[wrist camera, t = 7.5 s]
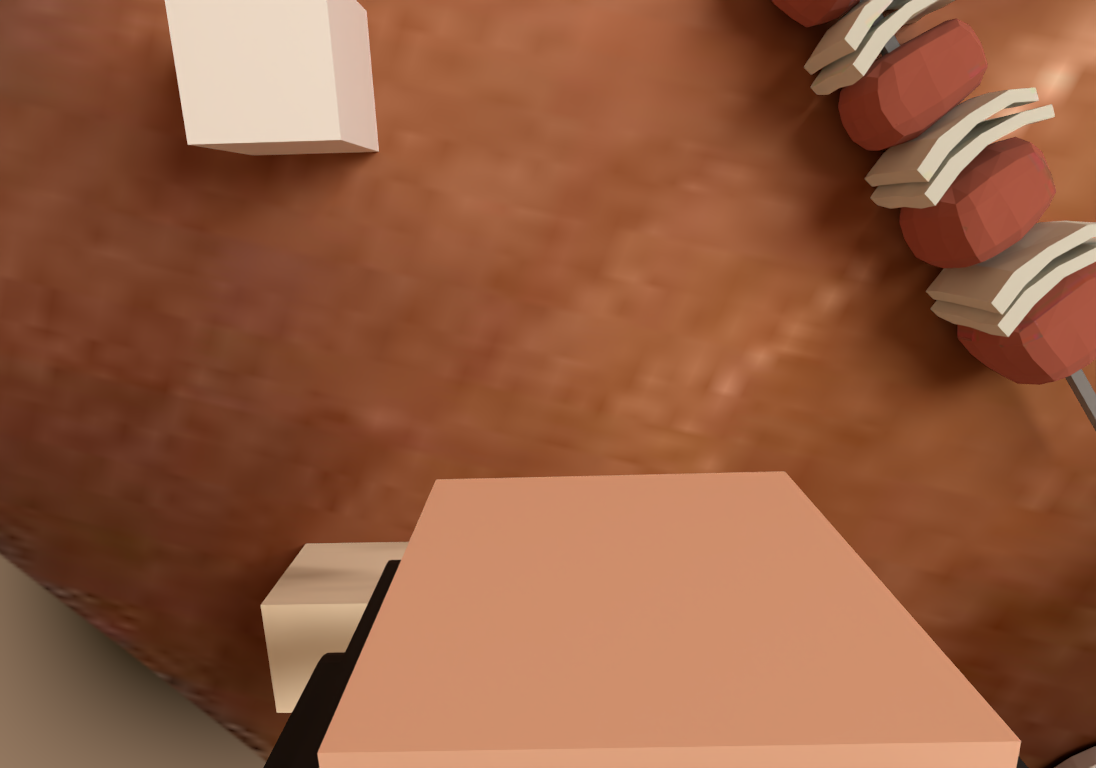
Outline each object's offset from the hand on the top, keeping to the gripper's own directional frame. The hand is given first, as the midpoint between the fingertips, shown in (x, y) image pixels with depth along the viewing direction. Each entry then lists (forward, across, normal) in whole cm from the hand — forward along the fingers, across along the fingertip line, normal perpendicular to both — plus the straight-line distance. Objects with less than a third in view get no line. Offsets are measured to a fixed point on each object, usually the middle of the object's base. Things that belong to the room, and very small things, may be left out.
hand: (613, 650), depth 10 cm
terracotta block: (+1, 0, 0) cm, 1 cm away
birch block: (+20, +10, +11) cm, 25 cm away
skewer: (+20, -14, -8) cm, 25 cm away
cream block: (+20, +10, -11) cm, 25 cm away
